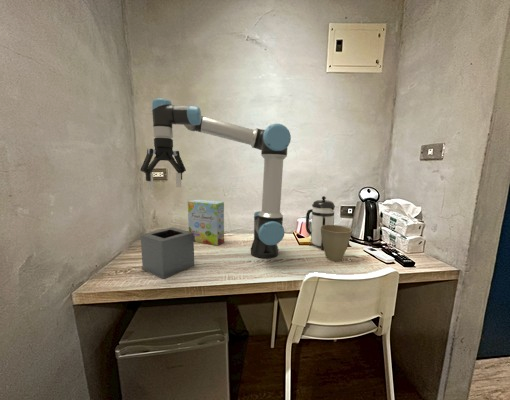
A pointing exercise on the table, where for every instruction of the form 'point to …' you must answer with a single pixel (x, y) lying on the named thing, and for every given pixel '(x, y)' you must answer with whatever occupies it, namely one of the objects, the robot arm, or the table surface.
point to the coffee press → (320, 219)
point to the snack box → (206, 221)
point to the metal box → (167, 251)
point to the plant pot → (335, 241)
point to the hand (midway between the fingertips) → (165, 188)
